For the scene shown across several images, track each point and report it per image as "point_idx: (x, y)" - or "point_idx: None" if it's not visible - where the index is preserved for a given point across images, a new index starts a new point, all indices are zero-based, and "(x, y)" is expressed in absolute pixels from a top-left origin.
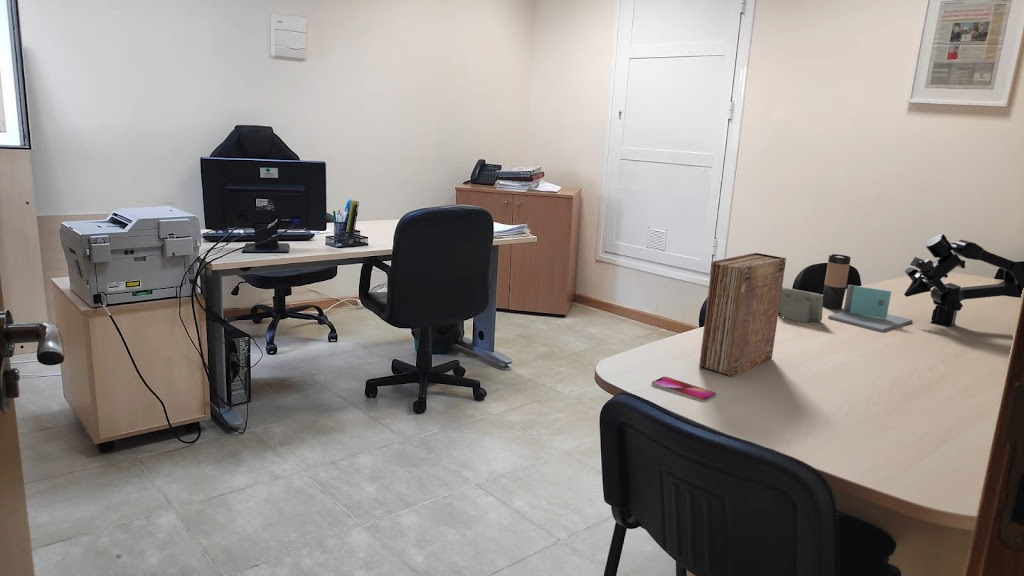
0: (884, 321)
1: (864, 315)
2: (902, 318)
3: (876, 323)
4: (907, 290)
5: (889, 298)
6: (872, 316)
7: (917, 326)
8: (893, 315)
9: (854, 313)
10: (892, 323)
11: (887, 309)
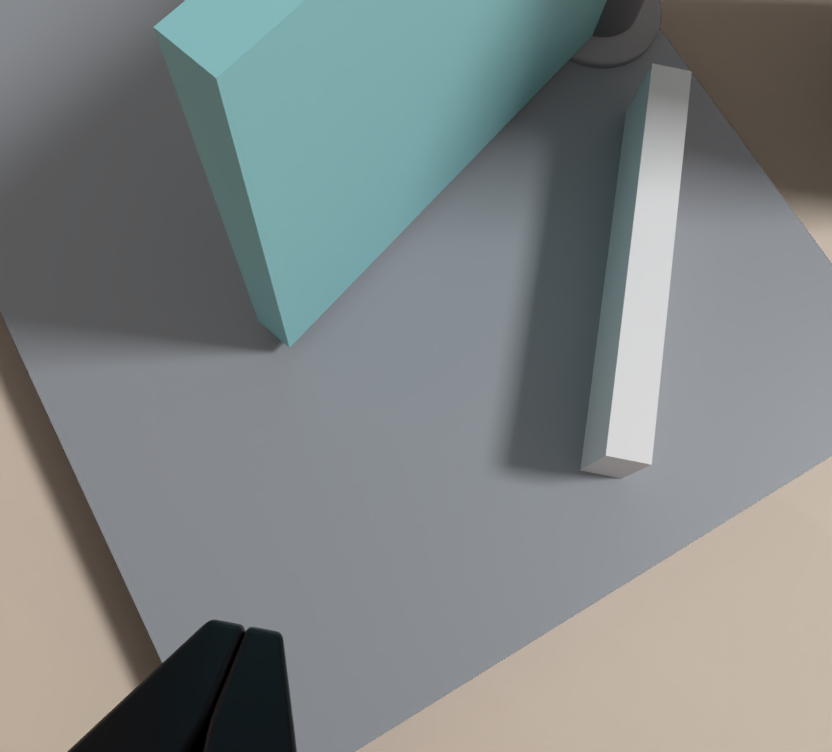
0: (174, 239)
1: (478, 161)
2: (324, 678)
3: (90, 61)
4: (242, 747)
5: (201, 142)
6: (431, 242)
7: (24, 730)
8: (502, 643)
9: (573, 94)
10: (64, 284)
11: (243, 259)
